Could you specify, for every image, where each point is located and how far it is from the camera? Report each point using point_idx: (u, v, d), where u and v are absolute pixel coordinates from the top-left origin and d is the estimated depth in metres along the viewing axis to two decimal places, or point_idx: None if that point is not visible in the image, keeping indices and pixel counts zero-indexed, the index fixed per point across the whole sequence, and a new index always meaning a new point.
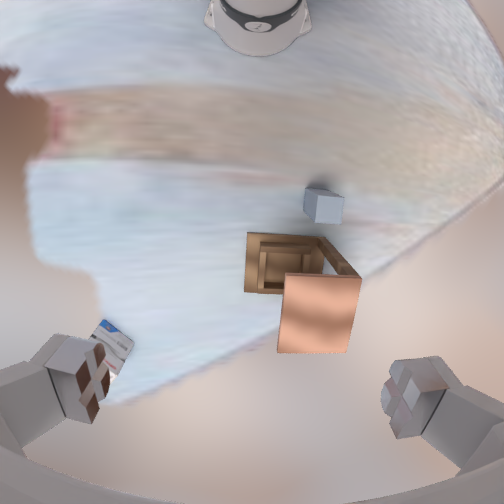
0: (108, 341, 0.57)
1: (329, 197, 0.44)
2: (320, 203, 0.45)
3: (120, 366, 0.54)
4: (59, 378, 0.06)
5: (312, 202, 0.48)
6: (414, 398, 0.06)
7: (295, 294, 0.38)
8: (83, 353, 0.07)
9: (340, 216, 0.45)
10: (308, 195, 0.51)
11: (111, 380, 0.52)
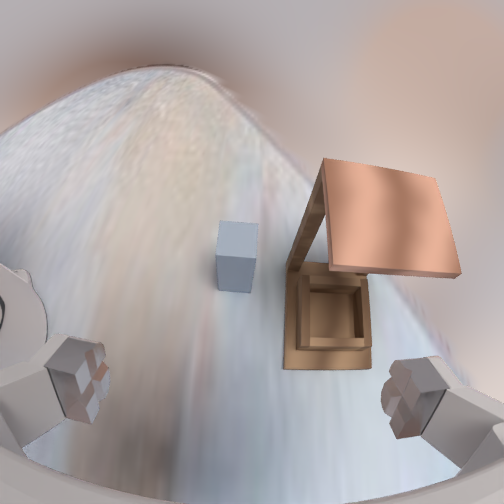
0: None
1: (219, 239, 0.32)
2: (227, 250, 0.31)
3: None
4: (59, 378, 0.06)
5: (230, 269, 0.34)
6: (414, 398, 0.06)
7: (363, 249, 0.21)
8: (83, 353, 0.07)
9: (246, 224, 0.33)
10: (225, 281, 0.37)
11: None
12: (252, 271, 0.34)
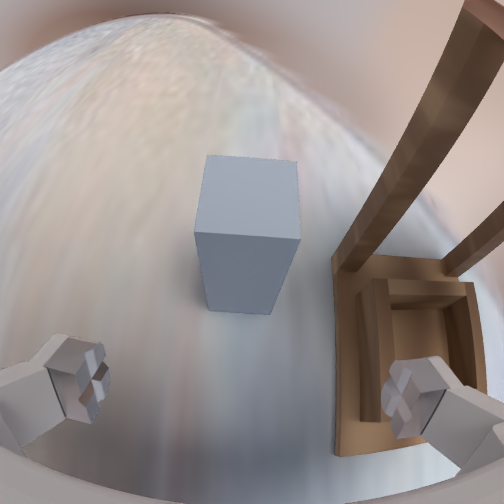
0: None
1: (204, 194, 0.13)
2: (225, 220, 0.12)
3: None
4: (59, 378, 0.06)
5: (233, 269, 0.15)
6: (414, 398, 0.06)
7: None
8: (83, 353, 0.07)
9: (270, 163, 0.14)
10: (221, 294, 0.18)
11: None
12: (283, 273, 0.15)
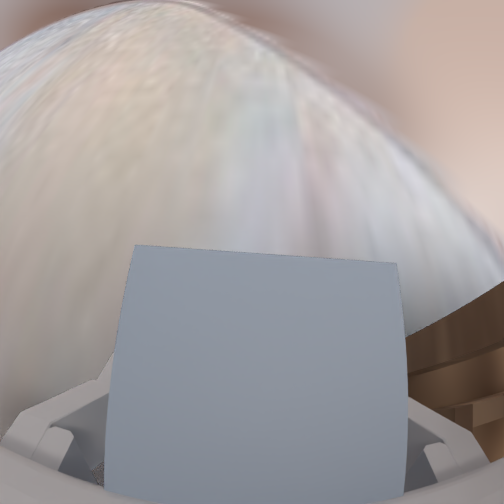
0: None
1: (121, 399, 0.03)
2: (189, 497, 0.03)
3: None
4: None
5: None
6: None
7: None
8: None
9: (326, 274, 0.04)
10: None
11: None
12: None
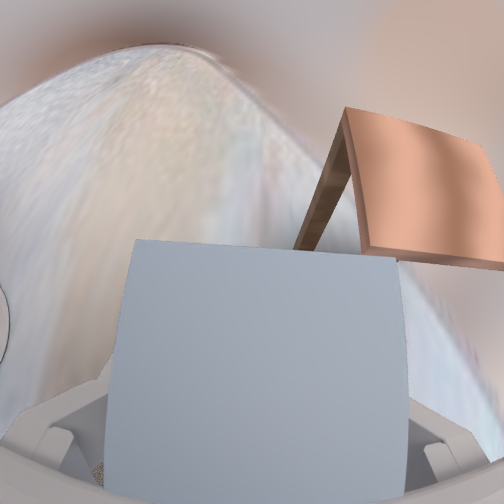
0: None
1: (121, 393, 0.04)
2: (189, 491, 0.03)
3: None
4: None
5: None
6: None
7: (411, 226, 0.13)
8: None
9: (326, 268, 0.04)
10: None
11: None
12: None
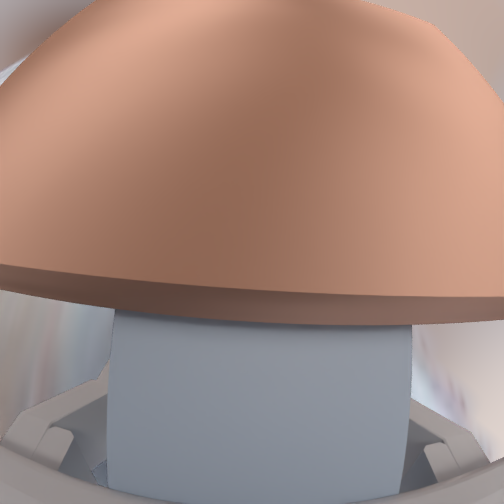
0: None
1: (118, 451, 0.03)
2: None
3: None
4: None
5: None
6: None
7: (19, 167, 0.03)
8: None
9: None
10: None
11: None
12: None
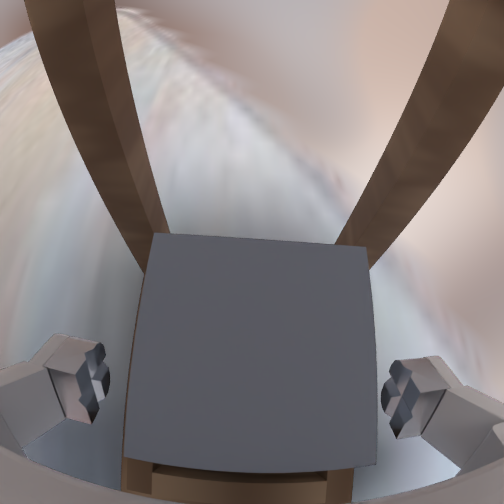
0: None
1: (143, 354, 0.05)
2: (197, 434, 0.04)
3: None
4: (59, 378, 0.06)
5: None
6: (414, 398, 0.06)
7: None
8: (83, 353, 0.07)
9: (306, 255, 0.06)
10: None
11: None
12: None
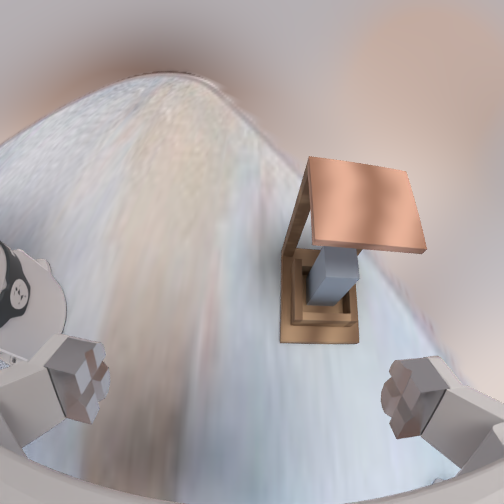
0: None
1: (326, 262, 0.35)
2: (335, 272, 0.34)
3: None
4: (59, 378, 0.06)
5: (331, 287, 0.37)
6: (414, 398, 0.06)
7: (340, 228, 0.26)
8: (83, 353, 0.07)
9: (346, 248, 0.36)
10: (318, 297, 0.40)
11: None
12: (348, 288, 0.37)
